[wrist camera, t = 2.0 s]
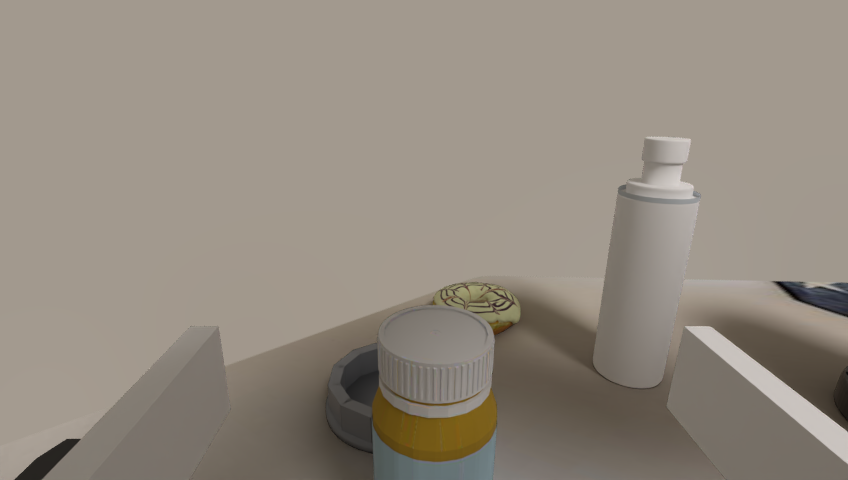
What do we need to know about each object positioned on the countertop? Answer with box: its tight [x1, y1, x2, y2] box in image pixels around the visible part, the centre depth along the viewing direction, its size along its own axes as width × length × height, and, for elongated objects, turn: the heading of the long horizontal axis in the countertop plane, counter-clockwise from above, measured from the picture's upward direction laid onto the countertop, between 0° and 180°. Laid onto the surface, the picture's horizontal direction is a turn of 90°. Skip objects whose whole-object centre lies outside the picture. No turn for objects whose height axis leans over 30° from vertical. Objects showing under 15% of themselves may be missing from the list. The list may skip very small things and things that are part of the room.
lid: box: [326, 343, 379, 453], centre depth 40 cm, size 12×12×3 cm
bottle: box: [372, 305, 497, 480], centre depth 25 cm, size 7×7×15 cm
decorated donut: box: [433, 282, 521, 335], centre depth 55 cm, size 10×11×4 cm
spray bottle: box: [593, 137, 701, 389], centre depth 42 cm, size 7×7×25 cm
